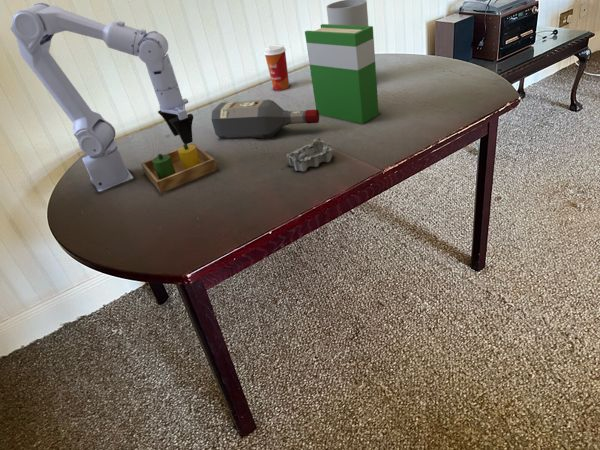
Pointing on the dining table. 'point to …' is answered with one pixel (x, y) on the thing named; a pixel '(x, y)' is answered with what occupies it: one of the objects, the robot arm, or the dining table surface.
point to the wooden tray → (180, 170)
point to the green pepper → (163, 166)
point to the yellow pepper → (188, 156)
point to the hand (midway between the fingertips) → (183, 138)
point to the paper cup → (277, 66)
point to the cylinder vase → (348, 13)
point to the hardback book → (343, 71)
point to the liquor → (256, 118)
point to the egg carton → (310, 155)
